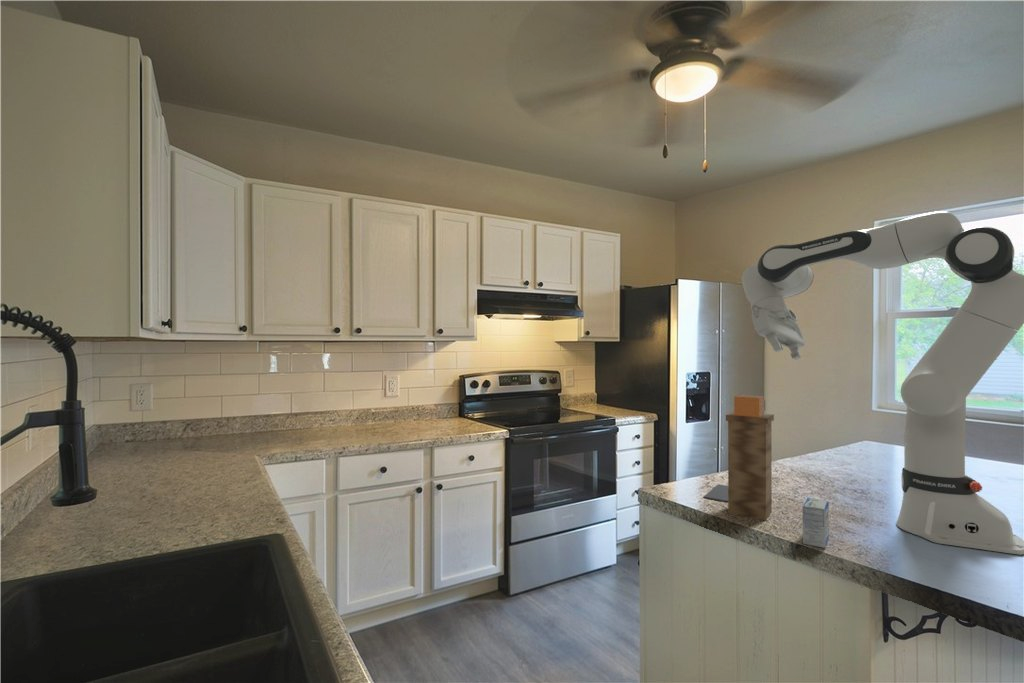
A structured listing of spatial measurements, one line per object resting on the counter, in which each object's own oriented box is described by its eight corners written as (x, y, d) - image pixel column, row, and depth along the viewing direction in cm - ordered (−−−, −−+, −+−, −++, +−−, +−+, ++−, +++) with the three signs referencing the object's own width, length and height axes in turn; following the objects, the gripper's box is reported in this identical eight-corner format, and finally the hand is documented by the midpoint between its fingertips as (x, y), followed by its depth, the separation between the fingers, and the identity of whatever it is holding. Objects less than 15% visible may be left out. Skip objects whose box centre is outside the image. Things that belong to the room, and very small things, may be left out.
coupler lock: (771, 410, 139) (771, 393, 139) (759, 417, 125) (759, 398, 126) (748, 408, 143) (748, 391, 143) (734, 415, 129) (734, 396, 129)
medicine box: (825, 549, 107) (825, 509, 107) (802, 544, 110) (802, 505, 110) (829, 538, 113) (829, 500, 113) (806, 533, 116) (806, 496, 116)
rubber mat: (749, 490, 150) (749, 489, 150) (736, 503, 137) (736, 502, 137) (718, 485, 156) (718, 484, 156) (703, 497, 143) (703, 496, 143)
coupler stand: (774, 511, 131) (773, 414, 131) (767, 521, 124) (767, 418, 124) (733, 504, 137) (733, 411, 137) (725, 513, 130) (725, 415, 130)
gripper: (761, 297, 135) (778, 340, 128) (799, 317, 145) (817, 357, 138) (740, 309, 139) (756, 351, 132) (779, 327, 150) (795, 367, 143)
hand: (788, 354), depth 135 cm, fingers open, 8 cm apart
